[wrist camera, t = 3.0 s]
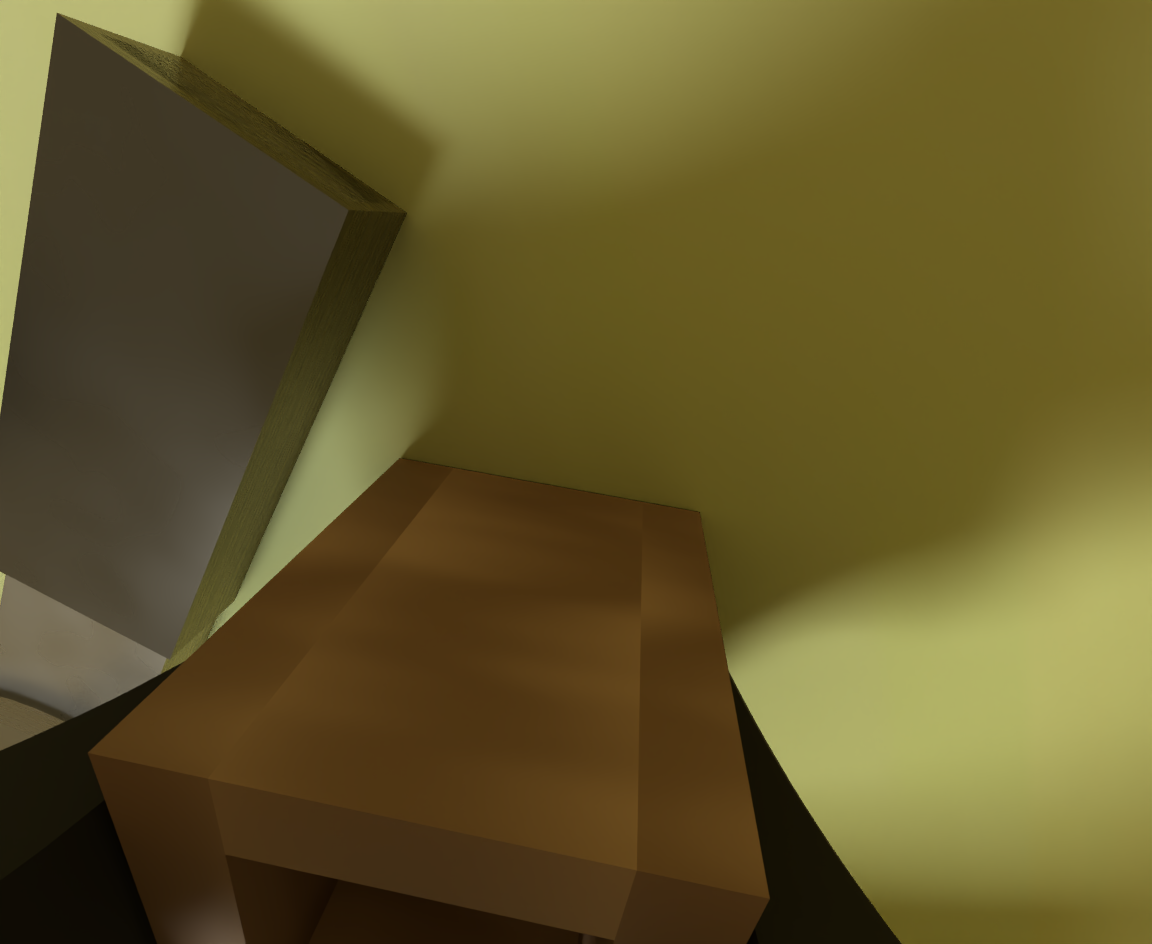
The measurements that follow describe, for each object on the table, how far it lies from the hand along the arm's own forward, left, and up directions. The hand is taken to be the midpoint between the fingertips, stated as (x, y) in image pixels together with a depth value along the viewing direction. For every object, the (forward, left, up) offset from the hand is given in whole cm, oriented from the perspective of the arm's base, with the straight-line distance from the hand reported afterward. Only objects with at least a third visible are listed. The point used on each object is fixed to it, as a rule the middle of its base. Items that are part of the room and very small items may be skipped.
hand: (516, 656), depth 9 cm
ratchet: (+7, +5, -2) cm, 9 cm away
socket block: (0, 0, -1) cm, 1 cm away
